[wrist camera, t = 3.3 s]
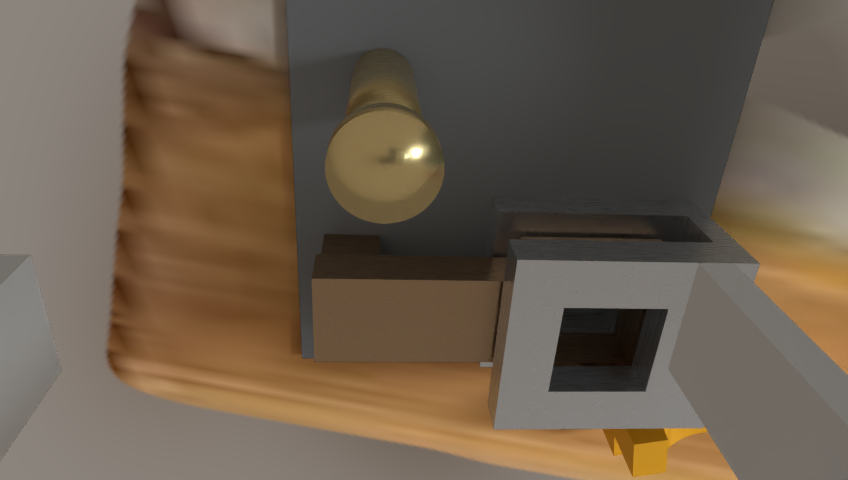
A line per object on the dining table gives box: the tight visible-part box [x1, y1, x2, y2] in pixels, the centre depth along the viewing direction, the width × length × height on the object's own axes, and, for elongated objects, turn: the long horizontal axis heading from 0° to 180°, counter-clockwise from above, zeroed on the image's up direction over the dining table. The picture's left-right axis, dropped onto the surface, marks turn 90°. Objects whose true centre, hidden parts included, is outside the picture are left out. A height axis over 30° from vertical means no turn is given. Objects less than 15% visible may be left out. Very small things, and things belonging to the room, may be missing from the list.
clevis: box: [312, 196, 760, 429], centre depth 33 cm, size 10×20×7 cm, turn 87°
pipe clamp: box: [603, 426, 708, 477], centre depth 39 cm, size 12×4×6 cm, turn 97°
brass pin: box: [325, 48, 444, 224], centre depth 25 cm, size 4×4×12 cm
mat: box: [286, 0, 774, 358], centre depth 34 cm, size 22×23×1 cm
